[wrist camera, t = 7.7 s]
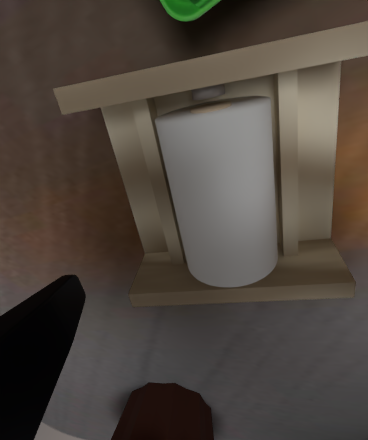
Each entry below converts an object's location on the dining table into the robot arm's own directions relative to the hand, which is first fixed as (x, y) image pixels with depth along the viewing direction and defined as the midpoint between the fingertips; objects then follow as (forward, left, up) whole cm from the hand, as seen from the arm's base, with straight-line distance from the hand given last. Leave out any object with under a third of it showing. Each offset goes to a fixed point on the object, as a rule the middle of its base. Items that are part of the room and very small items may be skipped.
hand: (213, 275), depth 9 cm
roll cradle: (0, 0, -10) cm, 10 cm away
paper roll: (0, 0, -9) cm, 9 cm away
